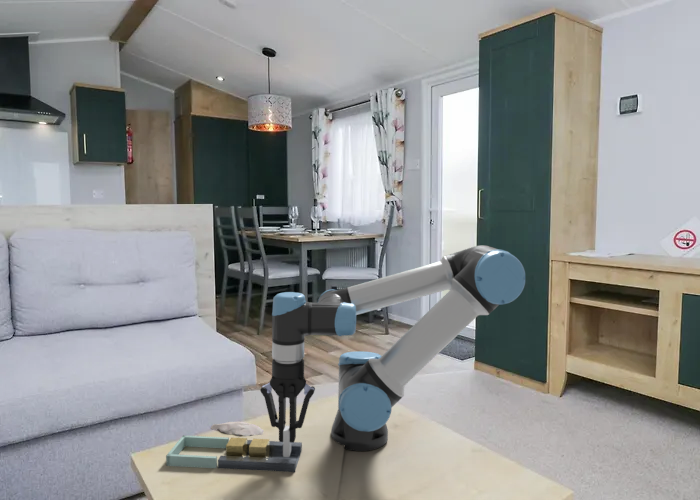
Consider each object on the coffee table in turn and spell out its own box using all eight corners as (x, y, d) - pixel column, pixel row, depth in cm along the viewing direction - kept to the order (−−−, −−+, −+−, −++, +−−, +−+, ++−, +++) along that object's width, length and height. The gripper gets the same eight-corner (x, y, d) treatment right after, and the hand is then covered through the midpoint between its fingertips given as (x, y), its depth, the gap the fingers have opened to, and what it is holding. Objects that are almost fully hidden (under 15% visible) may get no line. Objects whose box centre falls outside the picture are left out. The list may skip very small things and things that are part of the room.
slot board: (301, 453, 125) (301, 442, 125) (294, 476, 116) (294, 463, 115) (230, 450, 127) (230, 439, 126) (218, 472, 117) (217, 459, 116)
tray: (228, 450, 127) (228, 437, 126) (215, 472, 117) (215, 458, 116) (183, 448, 127) (182, 435, 127) (166, 469, 117) (166, 455, 117)
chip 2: (269, 454, 123) (269, 439, 122) (265, 463, 119) (265, 447, 118) (253, 454, 123) (253, 438, 123) (249, 462, 119) (248, 446, 119)
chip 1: (247, 453, 123) (247, 438, 123) (242, 462, 119) (242, 446, 119) (231, 453, 123) (231, 437, 123) (226, 461, 119) (226, 445, 119)
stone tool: (205, 438, 133) (260, 445, 132) (205, 427, 133) (260, 434, 132) (215, 422, 141) (268, 429, 140) (216, 412, 141) (268, 419, 140)
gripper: (317, 354, 121) (316, 447, 124) (264, 352, 122) (263, 444, 124) (313, 365, 114) (311, 463, 116) (256, 362, 114) (256, 460, 117)
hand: (287, 454), depth 120 cm, fingers closed
